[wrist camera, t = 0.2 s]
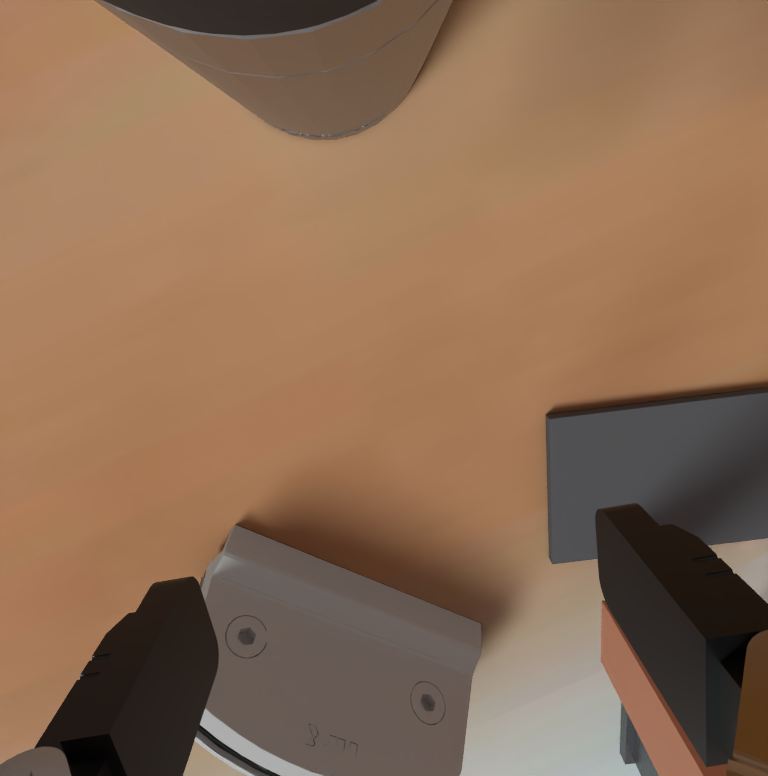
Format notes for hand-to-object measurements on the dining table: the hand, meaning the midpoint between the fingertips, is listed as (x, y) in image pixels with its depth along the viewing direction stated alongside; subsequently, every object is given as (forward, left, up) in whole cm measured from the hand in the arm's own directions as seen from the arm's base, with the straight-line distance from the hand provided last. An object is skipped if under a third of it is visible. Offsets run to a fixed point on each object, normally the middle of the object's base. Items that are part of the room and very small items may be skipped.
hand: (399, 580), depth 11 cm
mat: (+9, +15, -18) cm, 25 cm away
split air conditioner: (+17, -5, -18) cm, 25 cm away
